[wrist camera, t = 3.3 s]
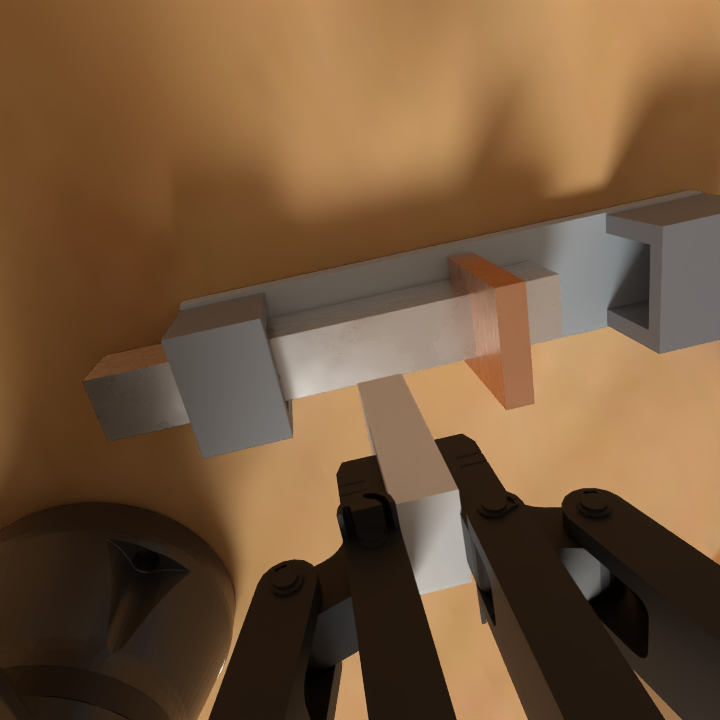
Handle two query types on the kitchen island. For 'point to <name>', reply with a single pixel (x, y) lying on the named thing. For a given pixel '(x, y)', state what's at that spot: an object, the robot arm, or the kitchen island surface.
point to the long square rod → (367, 344)
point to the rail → (428, 265)
